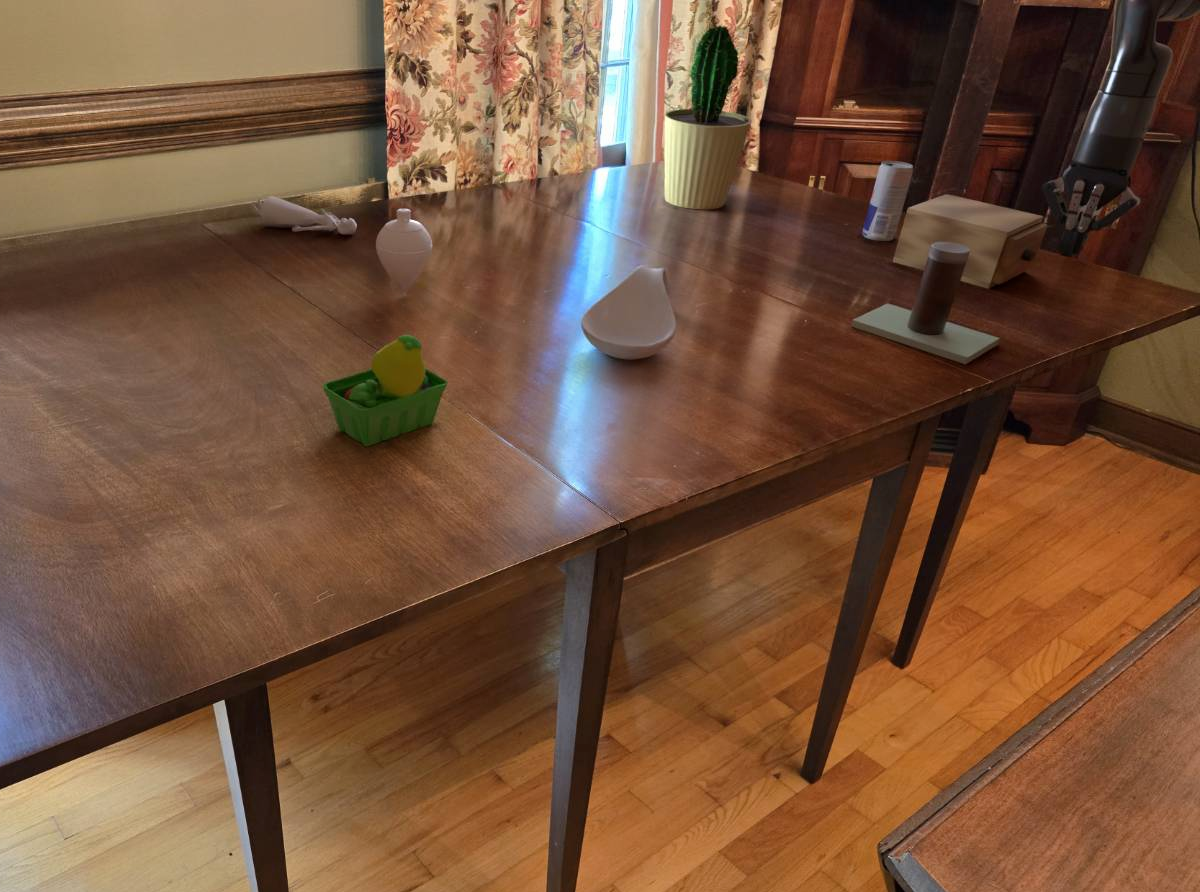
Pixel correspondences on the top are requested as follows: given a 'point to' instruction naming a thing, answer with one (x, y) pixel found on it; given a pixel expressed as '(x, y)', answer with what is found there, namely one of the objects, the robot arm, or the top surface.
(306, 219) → the woman figurine
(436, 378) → the fruit basket
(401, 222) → the spinning top
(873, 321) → the mat
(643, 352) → the spoon rest
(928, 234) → the cabinet
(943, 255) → the glass of dark soda
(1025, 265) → the drawer
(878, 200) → the energy drink
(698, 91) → the potted cactus
